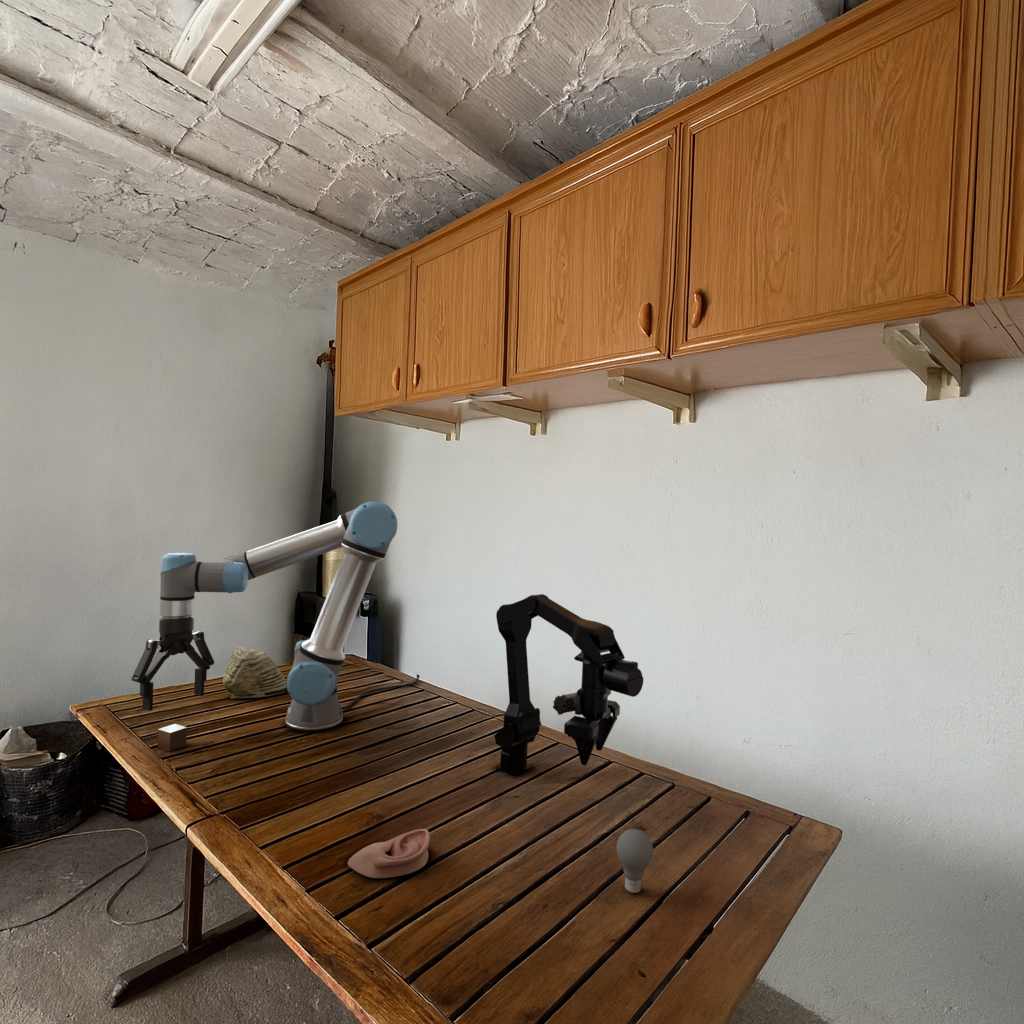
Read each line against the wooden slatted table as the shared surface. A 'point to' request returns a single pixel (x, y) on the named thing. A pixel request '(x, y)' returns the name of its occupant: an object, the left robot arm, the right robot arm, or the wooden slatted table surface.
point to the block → (172, 737)
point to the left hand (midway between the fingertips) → (174, 702)
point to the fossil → (252, 674)
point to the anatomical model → (393, 856)
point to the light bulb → (634, 857)
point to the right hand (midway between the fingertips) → (591, 757)
